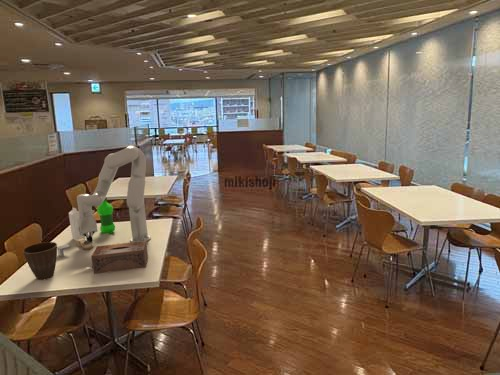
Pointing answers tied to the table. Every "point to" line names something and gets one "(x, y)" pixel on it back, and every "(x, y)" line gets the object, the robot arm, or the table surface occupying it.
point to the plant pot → (42, 259)
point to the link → (84, 244)
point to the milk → (74, 224)
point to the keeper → (61, 248)
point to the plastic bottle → (106, 217)
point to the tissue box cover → (119, 257)
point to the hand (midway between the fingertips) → (90, 242)
